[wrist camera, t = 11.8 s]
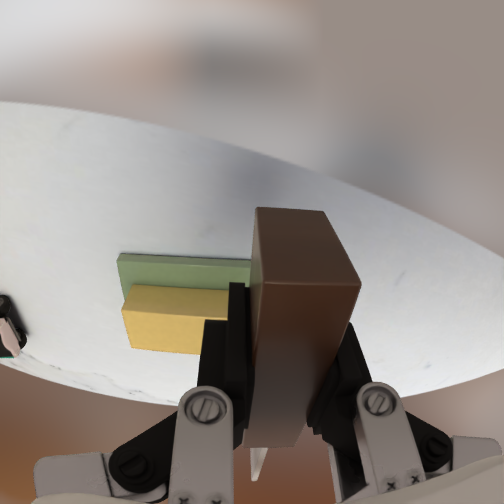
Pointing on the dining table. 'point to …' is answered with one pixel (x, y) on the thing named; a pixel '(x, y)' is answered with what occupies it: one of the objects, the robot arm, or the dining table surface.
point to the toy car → (9, 333)
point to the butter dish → (181, 271)
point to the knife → (293, 321)
